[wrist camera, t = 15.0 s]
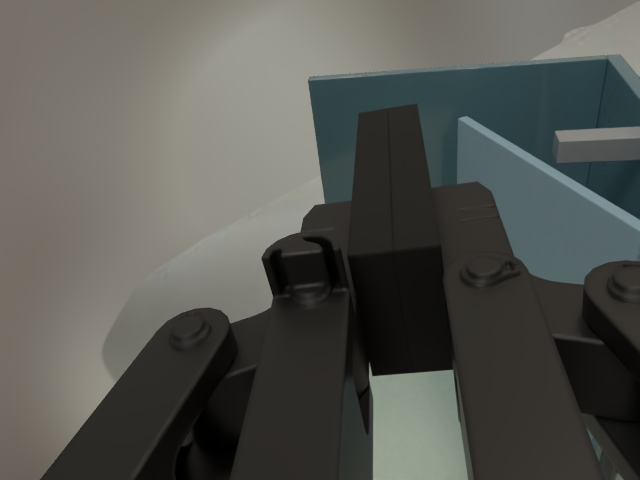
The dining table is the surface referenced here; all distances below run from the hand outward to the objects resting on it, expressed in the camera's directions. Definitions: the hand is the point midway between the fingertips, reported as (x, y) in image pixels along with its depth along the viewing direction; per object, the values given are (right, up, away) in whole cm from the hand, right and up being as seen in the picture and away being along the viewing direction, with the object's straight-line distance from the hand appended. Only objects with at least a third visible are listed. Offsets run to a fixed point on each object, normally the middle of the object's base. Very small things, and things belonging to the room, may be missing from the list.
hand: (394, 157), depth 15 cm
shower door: (+10, -12, +21) cm, 26 cm away
